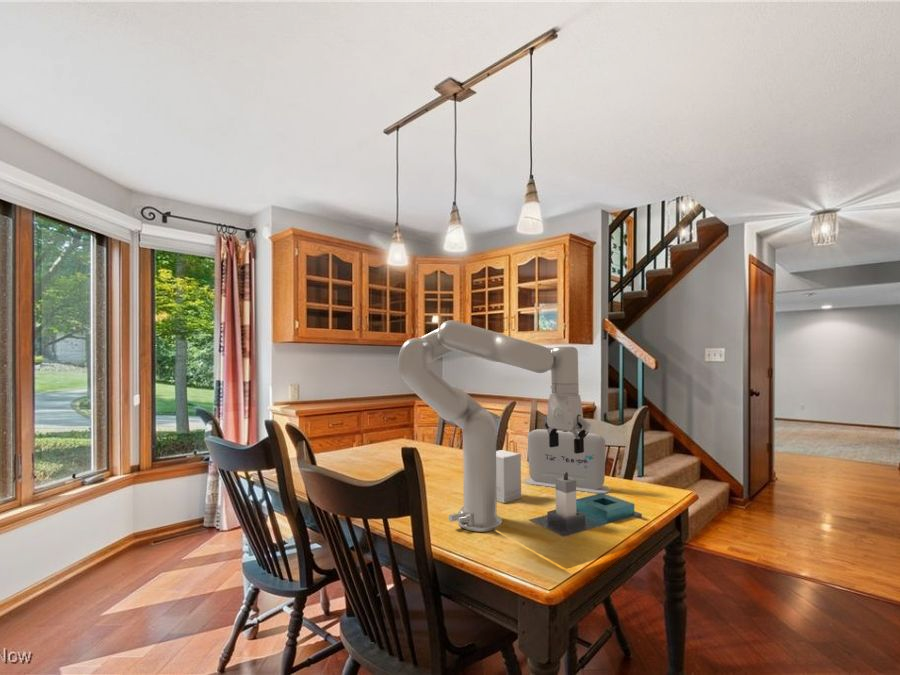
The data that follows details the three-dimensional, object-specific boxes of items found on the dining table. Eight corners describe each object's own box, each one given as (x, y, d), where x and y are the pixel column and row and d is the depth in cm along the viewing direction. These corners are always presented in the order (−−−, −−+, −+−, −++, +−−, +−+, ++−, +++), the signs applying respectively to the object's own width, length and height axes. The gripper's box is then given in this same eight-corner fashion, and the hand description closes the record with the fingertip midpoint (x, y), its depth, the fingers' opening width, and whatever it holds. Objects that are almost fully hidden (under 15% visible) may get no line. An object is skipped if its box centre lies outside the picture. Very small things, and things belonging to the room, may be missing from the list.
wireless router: (520, 483, 171) (520, 430, 171) (528, 477, 179) (528, 426, 180) (607, 495, 156) (606, 437, 157) (612, 488, 165) (611, 432, 166)
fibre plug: (566, 525, 127) (565, 475, 127) (555, 521, 130) (555, 471, 130) (576, 522, 129) (575, 473, 129) (566, 518, 132) (565, 469, 133)
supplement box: (522, 498, 154) (521, 453, 154) (504, 504, 148) (504, 457, 148) (502, 491, 161) (502, 449, 161) (484, 497, 155) (484, 453, 155)
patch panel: (563, 540, 119) (563, 525, 119) (528, 523, 131) (528, 509, 131) (641, 517, 136) (641, 503, 136) (603, 503, 148) (603, 491, 148)
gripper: (534, 388, 136) (535, 446, 135) (578, 392, 121) (579, 457, 121) (553, 387, 140) (554, 443, 139) (598, 391, 125) (599, 453, 125)
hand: (566, 449), depth 130 cm, fingers open, 9 cm apart
